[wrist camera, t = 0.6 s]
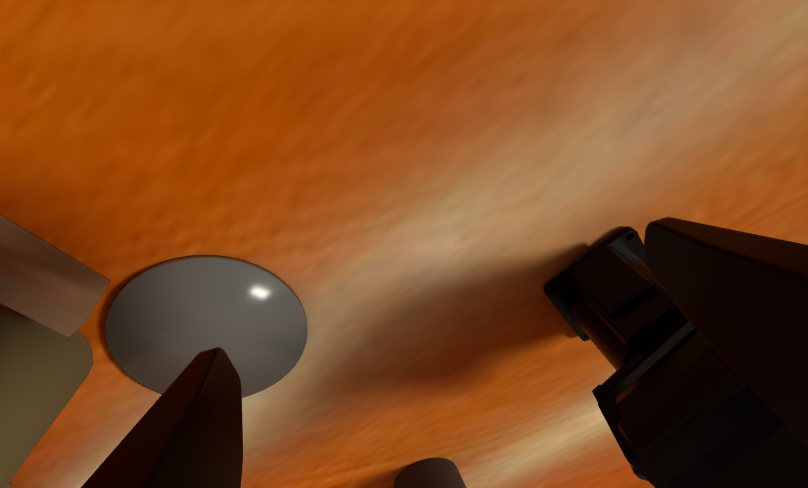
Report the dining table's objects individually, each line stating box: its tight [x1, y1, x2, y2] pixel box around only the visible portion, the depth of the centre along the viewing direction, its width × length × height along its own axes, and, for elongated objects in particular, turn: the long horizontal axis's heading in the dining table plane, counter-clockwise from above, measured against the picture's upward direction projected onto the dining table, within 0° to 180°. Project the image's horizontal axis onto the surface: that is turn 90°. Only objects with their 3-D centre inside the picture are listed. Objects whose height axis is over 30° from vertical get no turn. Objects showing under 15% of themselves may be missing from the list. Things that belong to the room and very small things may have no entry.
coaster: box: [106, 255, 307, 398], centre depth 24 cm, size 10×10×1 cm
